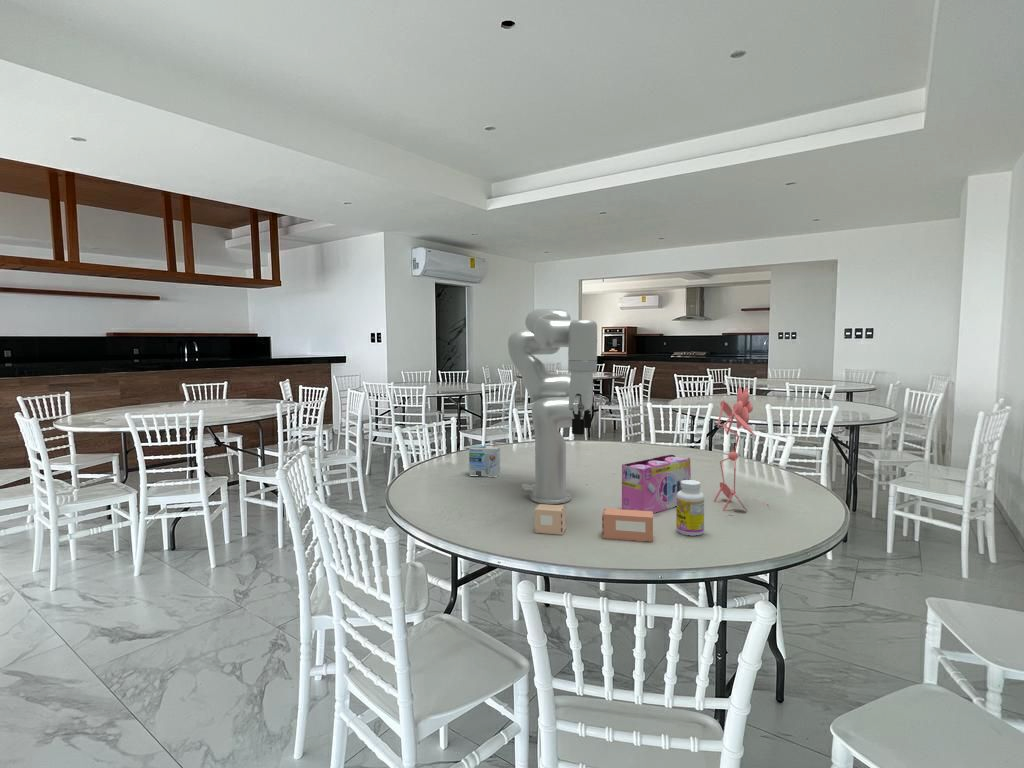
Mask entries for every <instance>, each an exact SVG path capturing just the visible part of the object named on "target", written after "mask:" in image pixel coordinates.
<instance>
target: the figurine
mask: <svg viewBox="0 0 1024 768" xmlns="http://www.w3.org/2000/svg"><path fill="white" fill-rule="evenodd" d="M736 393H737V394H736V402H735V403H734V404H733V405H732V407H731V405H729V403H728V402H726V401H725V400H724V399H723V400H722V401H720V411H719V416H718V418H717V419H718V420H717V426H718V427H723V428H724V432H725V434H726V435H727V436H728V435H729V433H730V432H731V433H733V434H734V435H735V436H736V441H735V446H734V451H730V452H729V453H728V454H727V455H728V457H727V458H725V459H724V458H723V459H722V460H720V461H719V464H720V471H721V475H722V477H721V478H722V481H720V482H719V491H718V492H717V494H716V495H715V497H714V499H713V502H716V501H717V500H718V498H719V496H720V494H721V492H722V493H723V495H725V496H726V498H727V502H726V503H725V505H724V506H723V508H722V510H723V511H725V510H726V509H727V507H728V505H729V503H730V501H731V500H732V497H733V496H735V498H736V499H737V501H738V502H739V503H740V505H741V506H742V508H743V509H744V510H745V512H748V510H747V509H746V507H745V505H744V504H743V503H742V501H741V500H740V499H739V498H738V497H739V496H738V495H736V471H737V470H736V468H737V460H738V458H739V454H738V452H736V451H737V447H738V443H739V439H740V435H739V434H738V433H737V432H735V431H734V430H732V428H731V427H732V424H733V421H734V419H735V421H736V428H737V430H739V429H740V428H741V426H742V427H743V428H744V430H747V432H749V433H750V434H751V435H752V436H754V435H755V433H754V431H753V430H752V429H751V427H750V425H749V421H750V413H751V412H753V407H754V406H753V404H752V402H751V401H750V400H749V399H750V392H749V388H748V387H745V388H744V389H742V387H741V386H738V388H737V392H736ZM723 412H724V413H725V415H727V416H728V417H729V418H728V419H727V421H726V422H725V423H723V424H721V420H722V419H721V418H722V413H723ZM728 423H729V425H728ZM727 425H728V426H727ZM728 460H730V461H733V462H734V466H733V468H734V469H733V488H730V487H729V486H728V485H727V483H725V478H724V470H723V464H722V462H724V461H728ZM760 503H761V504H763V502H762V501H760ZM764 505H766V506H767V507H768V508H769V510H771V508H770V507H769V506H770V505H769V504H765V503H764ZM729 516H731V517H733V516H734V515H733V514H729Z"/></svg>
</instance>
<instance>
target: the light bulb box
mask: <svg viewBox="0 0 1024 768" xmlns="http://www.w3.org/2000/svg"><path fill="white" fill-rule="evenodd" d="M468 455H469V456H468V458H469V459H468V466H469V467H468V472H469V475H478V476H497V475H498V474H499V473H500V474H501V446H500V445H476V444H475V445H474V444H473V445H472V446H471V447H469V448H468ZM469 475H468V476H469Z"/></svg>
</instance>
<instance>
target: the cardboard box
mask: <svg viewBox="0 0 1024 768" xmlns="http://www.w3.org/2000/svg"><path fill="white" fill-rule="evenodd" d="M601 521H602V522H601V526H602V527H601V528H602V529H601V535H602V537H601V539H608V540H619V539H620V540H619V541H631V540H635V541H634V542H644V541H649V542H648V543H653V542H654V541H653V539H654V514H653V511H638V510H622V508H621V509H618V508H605V507H604V508H603V511H602V514H601ZM650 541H651V542H650Z"/></svg>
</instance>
